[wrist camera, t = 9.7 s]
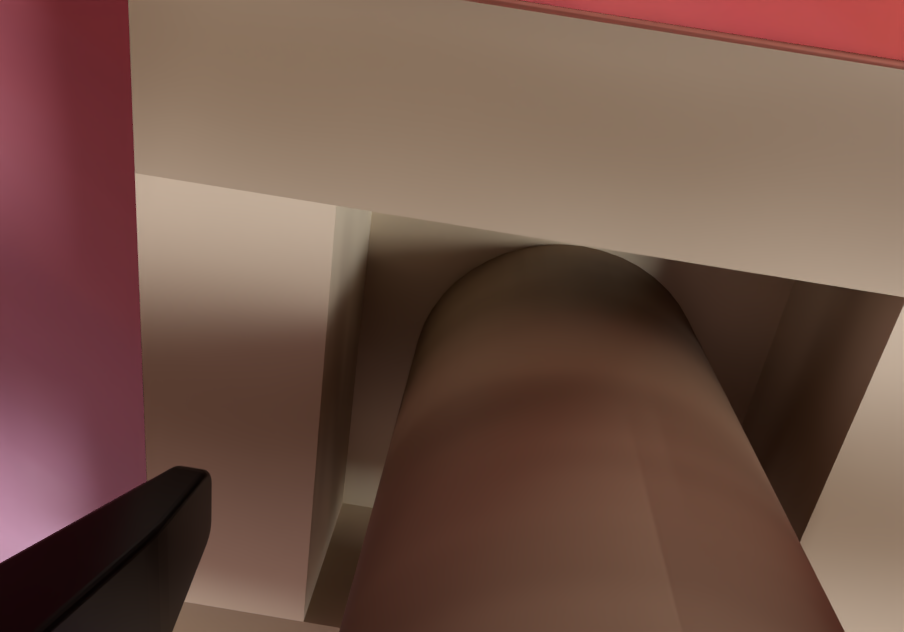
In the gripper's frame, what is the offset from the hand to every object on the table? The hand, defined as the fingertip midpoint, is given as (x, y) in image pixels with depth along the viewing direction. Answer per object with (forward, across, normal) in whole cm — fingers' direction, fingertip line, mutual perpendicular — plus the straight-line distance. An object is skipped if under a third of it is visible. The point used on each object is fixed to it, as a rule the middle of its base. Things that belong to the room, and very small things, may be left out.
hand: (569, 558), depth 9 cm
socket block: (+6, 0, 0) cm, 6 cm away
